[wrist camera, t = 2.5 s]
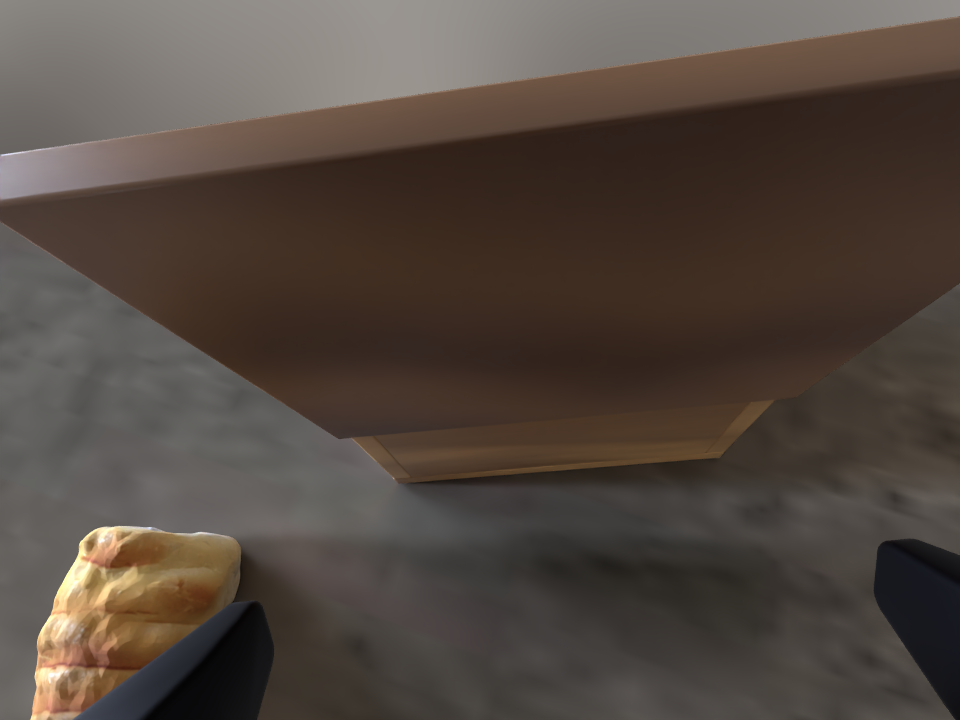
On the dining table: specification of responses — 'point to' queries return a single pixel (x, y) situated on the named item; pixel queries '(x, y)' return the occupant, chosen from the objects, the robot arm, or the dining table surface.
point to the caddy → (563, 443)
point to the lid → (537, 233)
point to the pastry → (127, 610)
